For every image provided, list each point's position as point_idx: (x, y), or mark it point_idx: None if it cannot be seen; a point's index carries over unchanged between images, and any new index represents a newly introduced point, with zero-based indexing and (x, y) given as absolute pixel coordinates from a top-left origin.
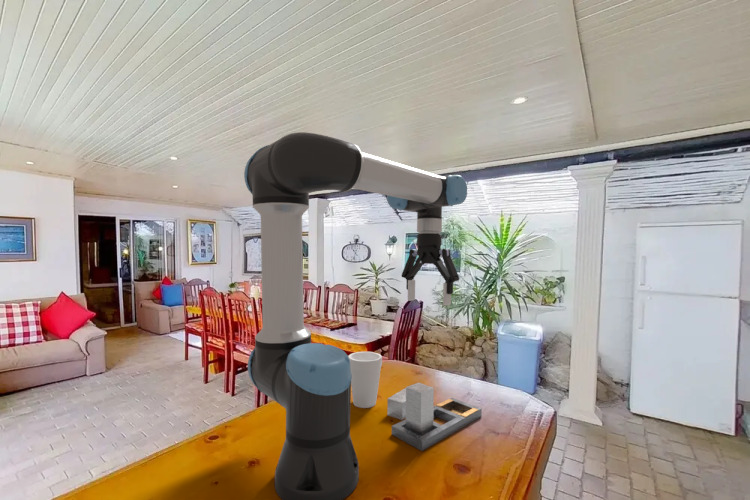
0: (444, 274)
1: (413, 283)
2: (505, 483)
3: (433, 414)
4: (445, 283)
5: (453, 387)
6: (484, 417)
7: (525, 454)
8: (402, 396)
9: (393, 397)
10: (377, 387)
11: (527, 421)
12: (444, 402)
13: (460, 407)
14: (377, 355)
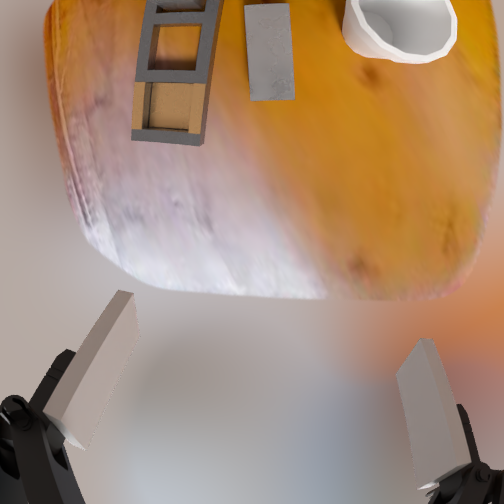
0: (27, 479)
1: (425, 460)
2: (58, 10)
3: (152, 2)
4: (44, 408)
5: (249, 233)
6: None
7: (56, 81)
8: (266, 32)
9: (281, 15)
10: (347, 33)
11: (85, 177)
12: (197, 108)
13: (173, 129)
14: (391, 46)
